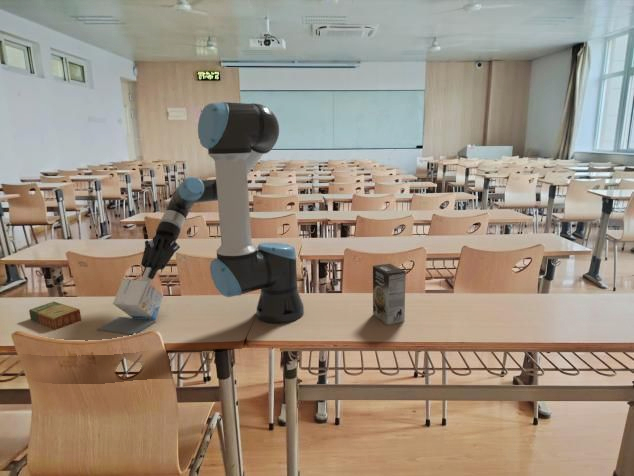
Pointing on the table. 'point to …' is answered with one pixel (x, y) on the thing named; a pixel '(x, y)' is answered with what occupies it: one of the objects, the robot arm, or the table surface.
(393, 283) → the coffee box
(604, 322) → the table surface
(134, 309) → the ink box
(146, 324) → the rubber mat
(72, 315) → the carton
